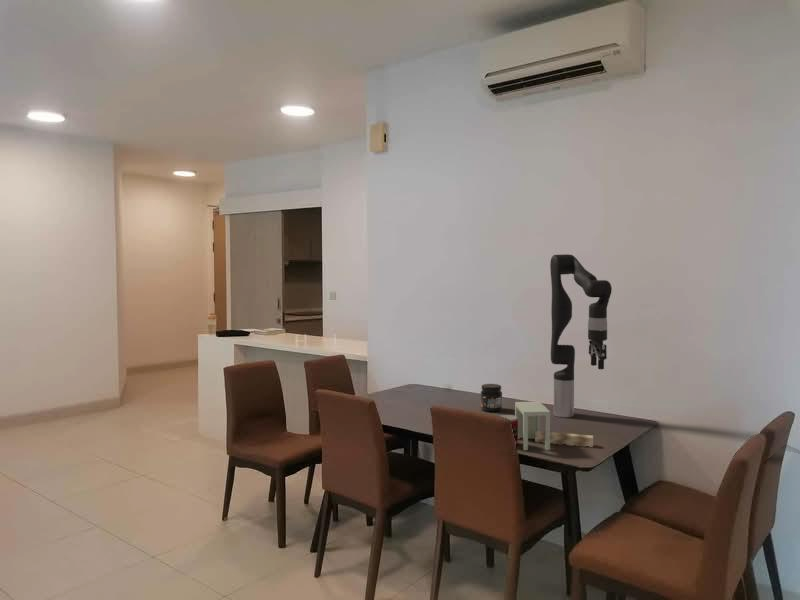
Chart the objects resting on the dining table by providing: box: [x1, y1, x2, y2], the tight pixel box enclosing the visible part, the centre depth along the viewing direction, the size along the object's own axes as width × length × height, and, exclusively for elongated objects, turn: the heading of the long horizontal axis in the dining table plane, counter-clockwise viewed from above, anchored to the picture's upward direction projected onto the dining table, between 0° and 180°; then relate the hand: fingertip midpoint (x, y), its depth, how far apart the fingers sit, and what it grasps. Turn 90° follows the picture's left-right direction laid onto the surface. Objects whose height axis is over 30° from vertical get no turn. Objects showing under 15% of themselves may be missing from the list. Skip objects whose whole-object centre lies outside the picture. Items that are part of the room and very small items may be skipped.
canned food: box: [499, 414, 519, 445], centre depth 229 cm, size 8×8×11 cm
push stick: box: [534, 430, 594, 448], centre depth 230 cm, size 22×3×4 cm, turn 71°
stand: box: [514, 401, 551, 452], centre depth 229 cm, size 16×10×15 cm, turn 1°
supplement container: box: [480, 383, 503, 413], centre depth 283 cm, size 10×10×12 cm
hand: (597, 367), depth 240 cm, fingers open, 8 cm apart
